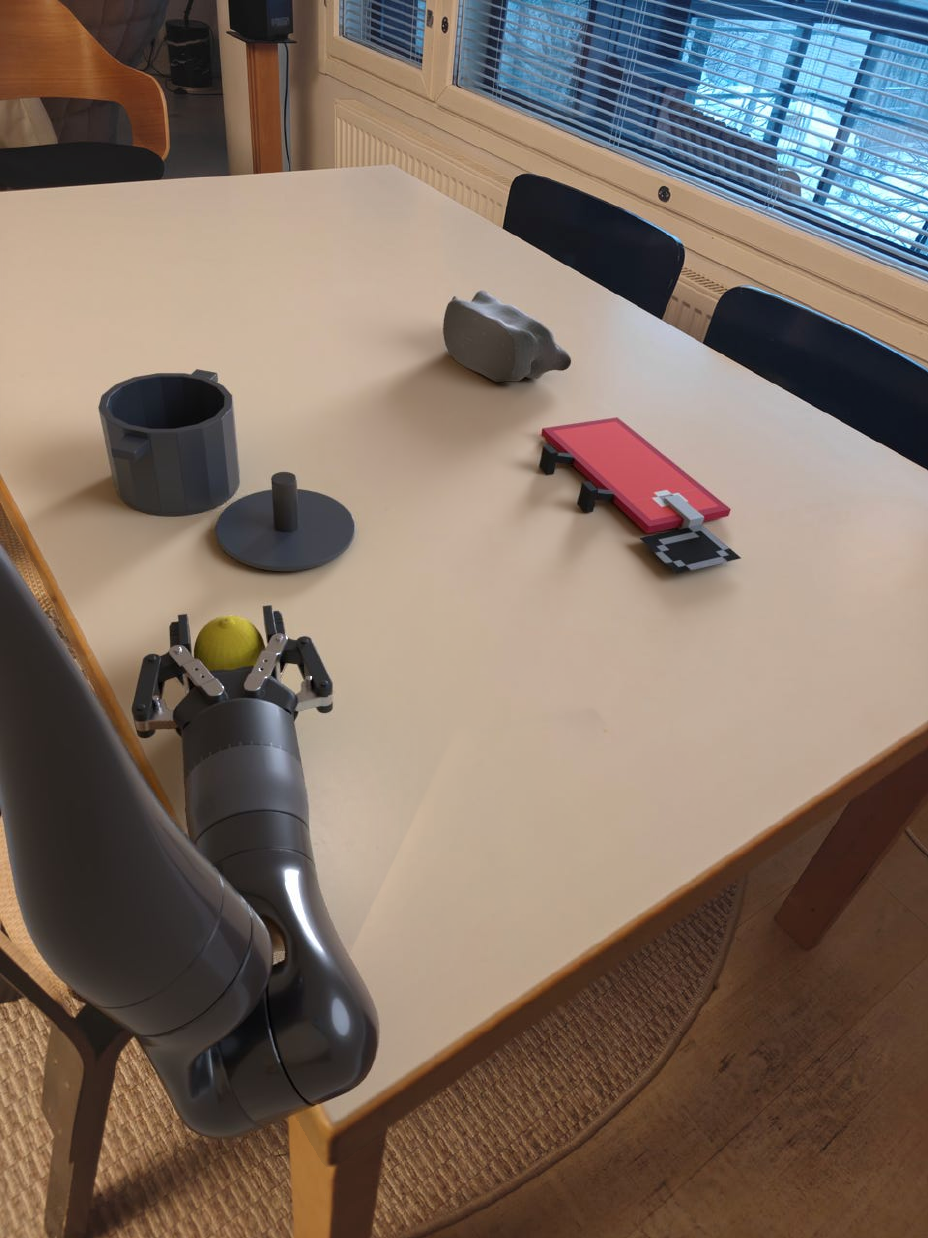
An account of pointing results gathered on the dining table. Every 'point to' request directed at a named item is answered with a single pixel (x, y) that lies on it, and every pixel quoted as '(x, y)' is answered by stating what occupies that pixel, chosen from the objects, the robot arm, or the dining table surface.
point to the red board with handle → (641, 489)
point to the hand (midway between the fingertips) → (226, 618)
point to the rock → (500, 340)
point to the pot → (171, 442)
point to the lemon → (228, 644)
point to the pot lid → (285, 527)
